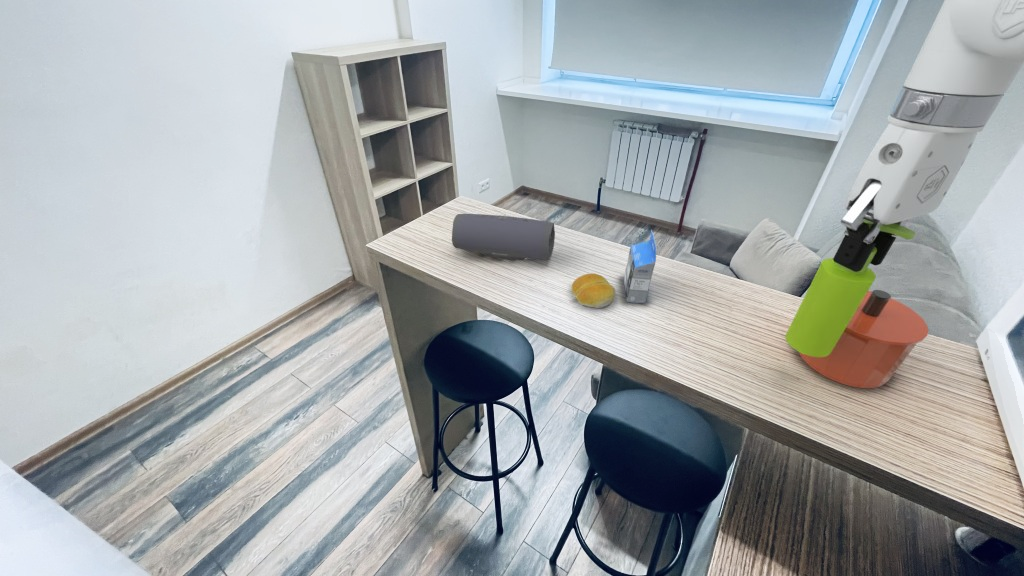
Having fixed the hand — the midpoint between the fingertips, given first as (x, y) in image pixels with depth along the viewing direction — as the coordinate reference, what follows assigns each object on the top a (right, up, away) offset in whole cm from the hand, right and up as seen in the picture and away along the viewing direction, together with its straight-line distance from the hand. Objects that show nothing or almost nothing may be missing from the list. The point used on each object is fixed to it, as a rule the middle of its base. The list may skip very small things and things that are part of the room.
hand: (856, 261), depth 52 cm
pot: (+11, -15, +16) cm, 25 cm away
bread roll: (-27, -5, +32) cm, 42 cm away
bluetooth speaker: (-46, +4, +46) cm, 65 cm away
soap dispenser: (+1, -12, +9) cm, 15 cm away
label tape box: (-18, -4, +33) cm, 38 cm away
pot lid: (+11, -8, +11) cm, 17 cm away
